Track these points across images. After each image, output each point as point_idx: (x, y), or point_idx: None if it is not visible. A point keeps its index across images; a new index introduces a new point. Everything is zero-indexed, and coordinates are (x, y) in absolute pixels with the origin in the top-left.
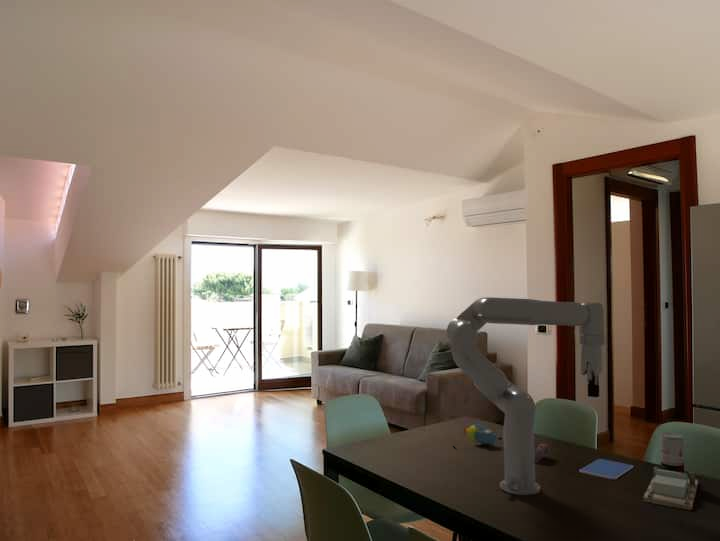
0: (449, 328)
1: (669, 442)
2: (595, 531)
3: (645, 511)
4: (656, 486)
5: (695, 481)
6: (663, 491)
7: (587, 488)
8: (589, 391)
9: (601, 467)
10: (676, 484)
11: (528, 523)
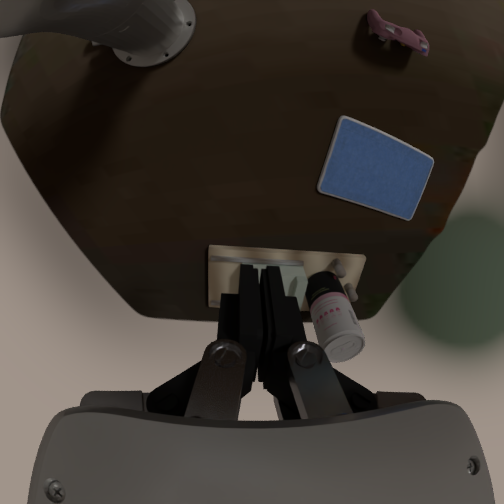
0: None
1: (321, 340)
2: (52, 200)
3: (162, 250)
4: None
5: None
6: None
7: (229, 143)
8: (238, 297)
9: (380, 162)
10: None
11: (27, 118)
